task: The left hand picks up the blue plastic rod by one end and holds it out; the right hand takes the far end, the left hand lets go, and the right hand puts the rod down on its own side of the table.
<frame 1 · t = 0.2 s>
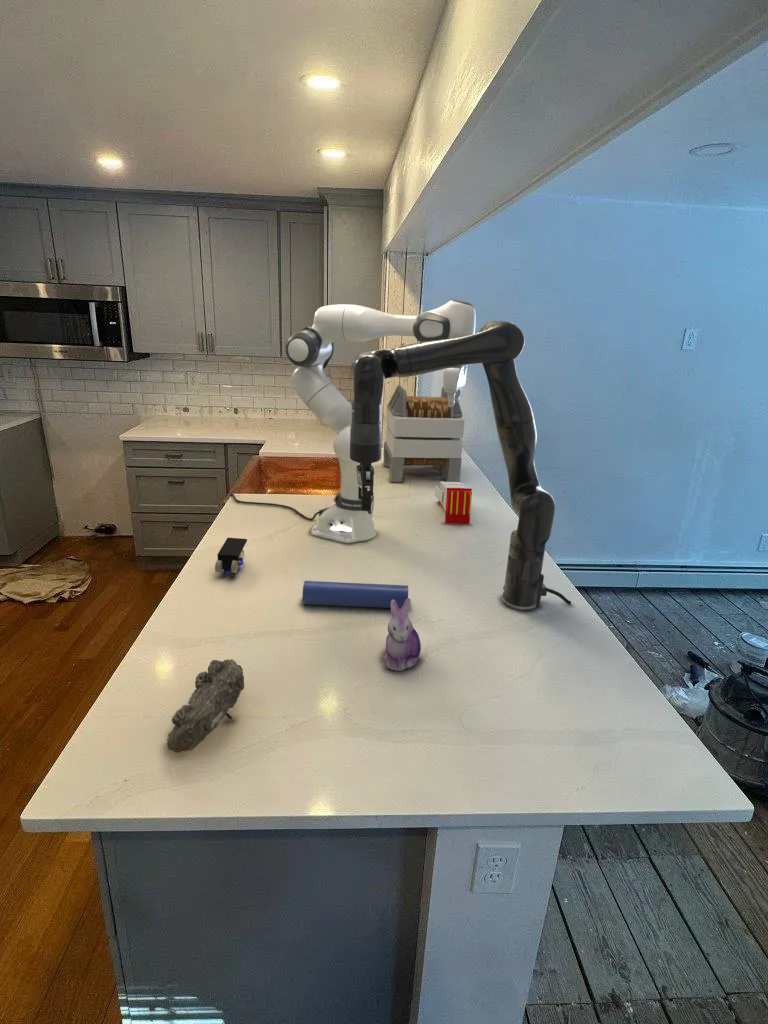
left hand: (453, 404, 174), 48 cm above the counter, tool pointing down, fingers open, 8 cm apart
right hand: (364, 504, 140), 29 cm above the counter, tool pointing down, fingers open, 8 cm apart
figurine: (401, 660, 128), on the counter
figurine character: (232, 569, 168), on the counter
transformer: (419, 473, 275), on the counter
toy: (451, 512, 224), on the counter
fossil: (212, 717, 108), on the counter
rod: (355, 604, 151), on the counter
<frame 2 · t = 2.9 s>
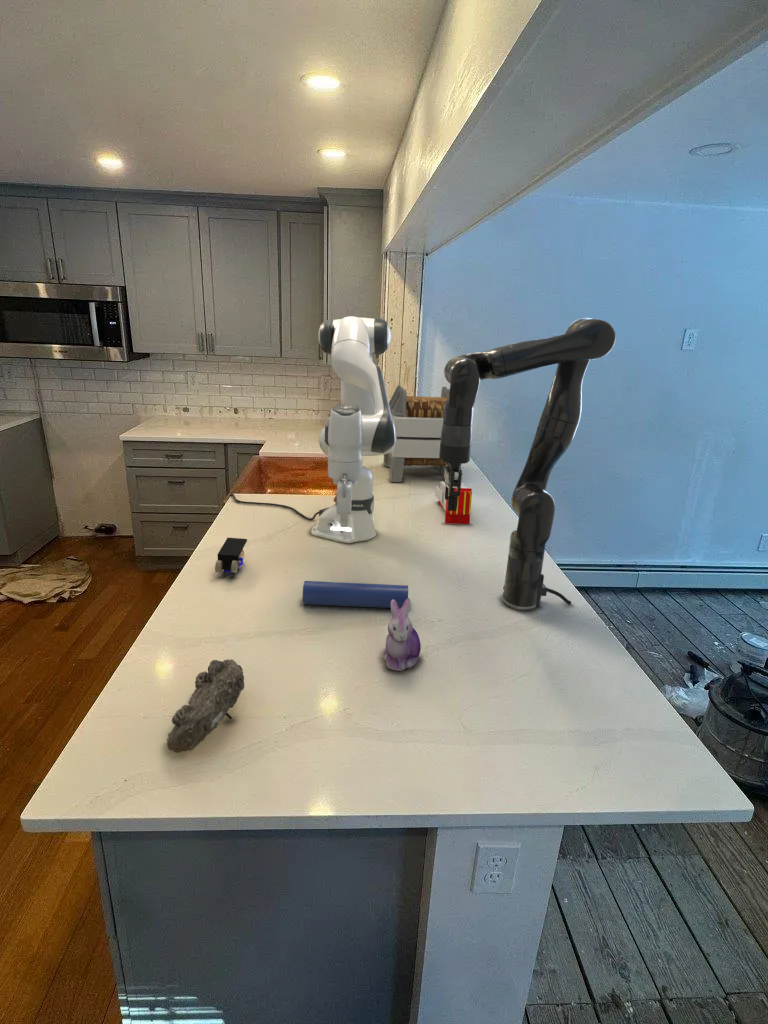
left hand: (344, 520, 150), 22 cm above the counter, tool pointing down, fingers open, 8 cm apart
right hand: (450, 504, 143), 29 cm above the counter, tool pointing down, fingers open, 8 cm apart
nothing on the counter moved.
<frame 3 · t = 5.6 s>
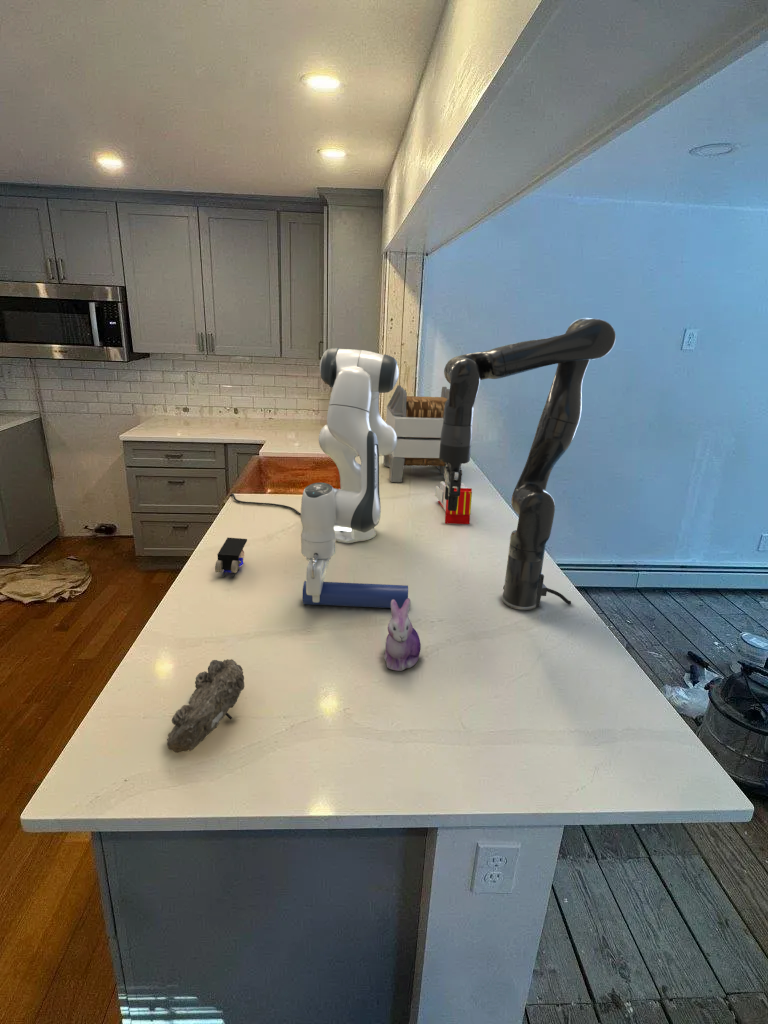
left hand: (318, 594, 150), 3 cm above the counter, tool pointing down, fingers closed on rod, 6 cm apart
right hand: (450, 504, 143), 29 cm above the counter, tool pointing down, fingers open, 8 cm apart
rod: (355, 604, 151), on the counter, touching left hand
everything else where it was.
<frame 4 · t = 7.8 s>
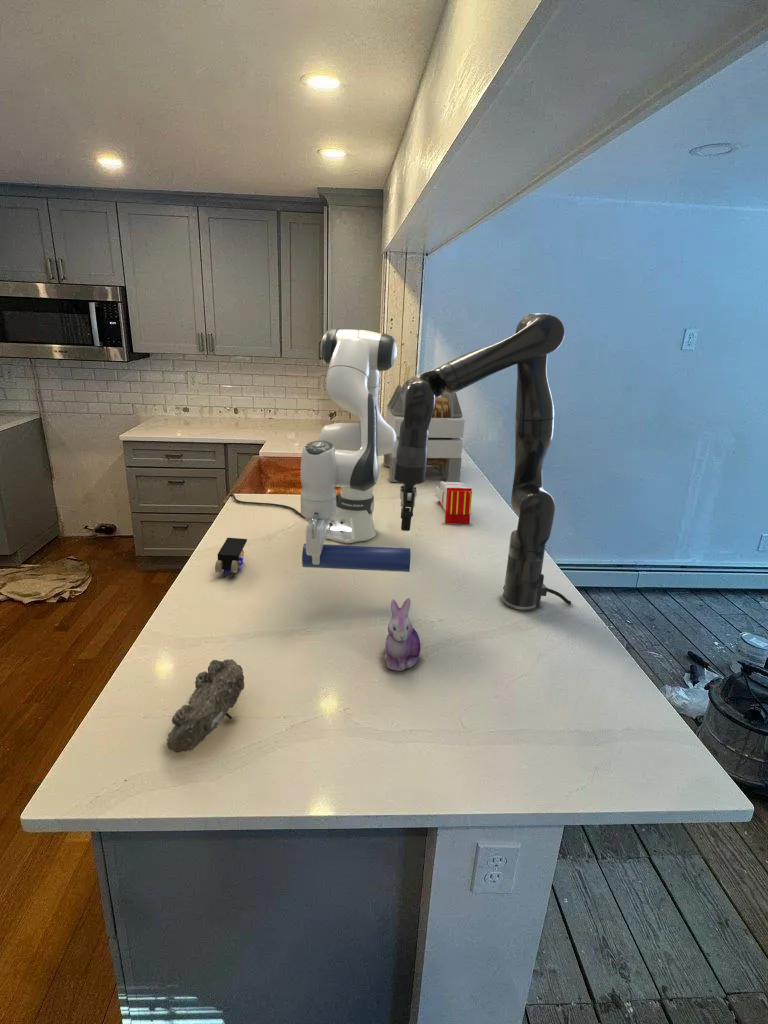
left hand: (318, 557, 147), 13 cm above the counter, tool pointing down, fingers closed on rod, 6 cm apart
right hand: (405, 524, 143), 24 cm above the counter, tool pointing down, fingers open, 8 cm apart
rod: (356, 568, 147), point 11 cm above the counter, touching left hand
everything else where it was.
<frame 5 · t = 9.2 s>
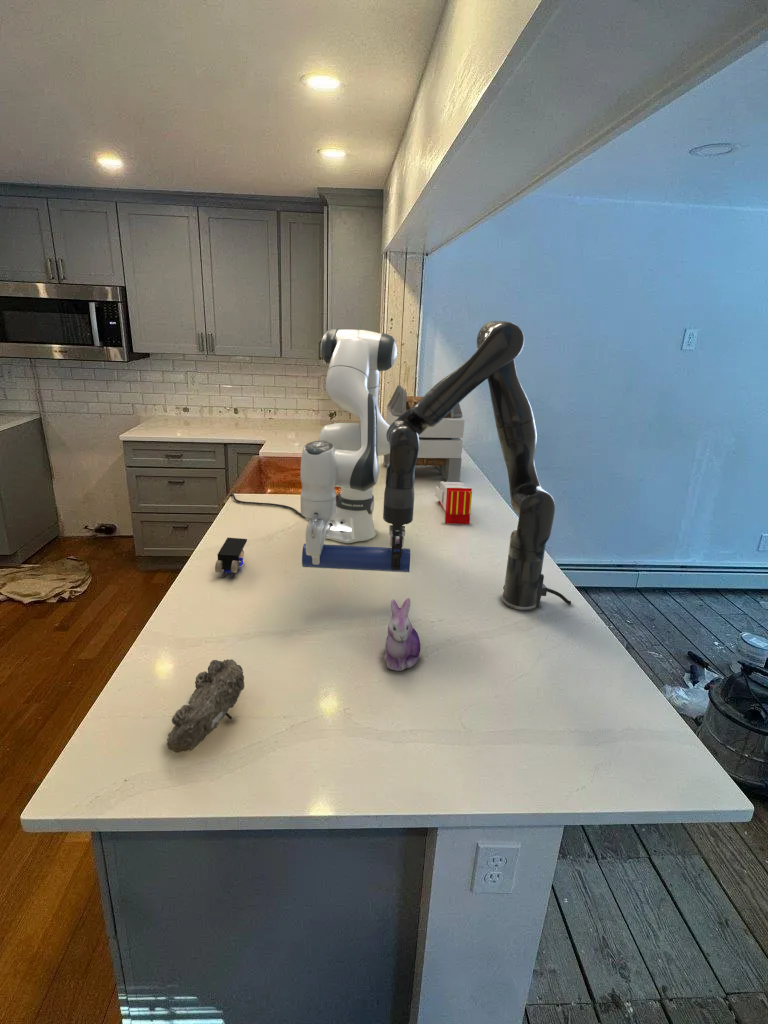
left hand: (318, 557, 147), 13 cm above the counter, tool pointing down, fingers closed on rod, 6 cm apart
right hand: (395, 563, 147), 13 cm above the counter, tool pointing down, fingers closed on rod, 6 cm apart
rod: (356, 568, 147), point 11 cm above the counter, touching left hand, right hand
everything else where it was.
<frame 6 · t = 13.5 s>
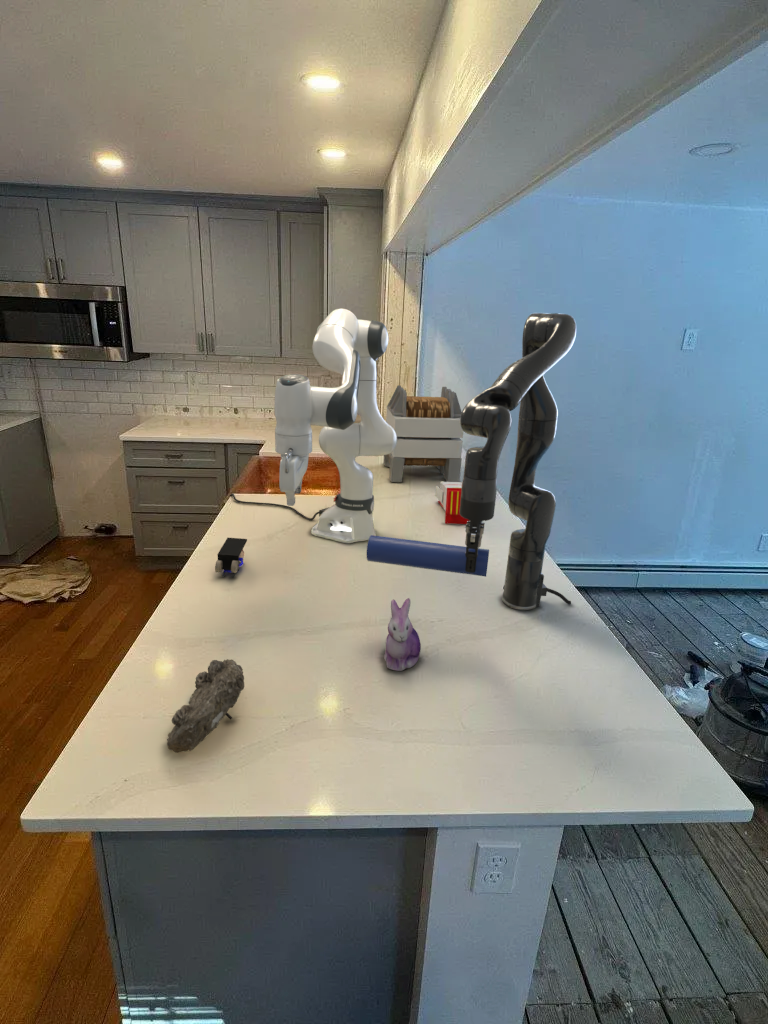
left hand: (294, 498, 141), 29 cm above the counter, tool pointing down, fingers open, 8 cm apart
right hand: (471, 565, 129), 21 cm above the counter, tool pointing down, fingers closed on rod, 6 cm apart
rod: (426, 567, 131), point 19 cm above the counter, touching right hand
everything else where it was.
when the right hand's fingers open (4 cm above the counter, at t = 17.7 s): rod drops 3 cm and tips over, point 1 cm above the counter.
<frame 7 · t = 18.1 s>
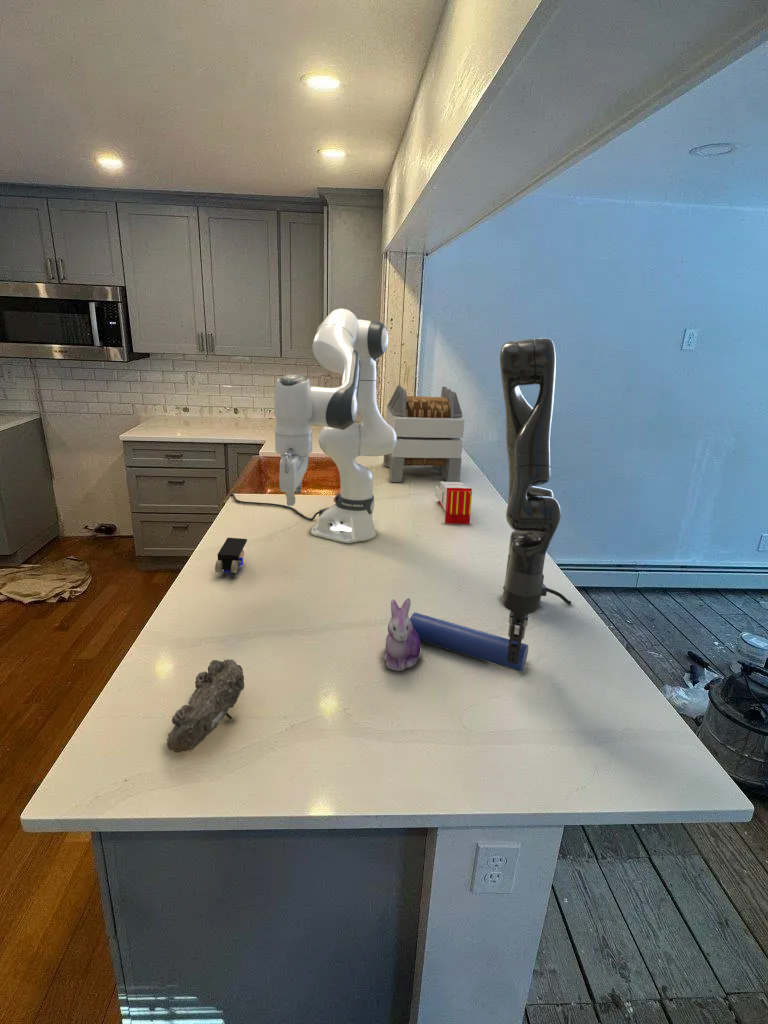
left hand: (294, 498, 141), 29 cm above the counter, tool pointing down, fingers open, 8 cm apart
right hand: (514, 651, 125), 4 cm above the counter, tool pointing down, fingers open, 8 cm apart
rod: (462, 653, 131), point 1 cm above the counter, tilted 36°
everything else where it was.
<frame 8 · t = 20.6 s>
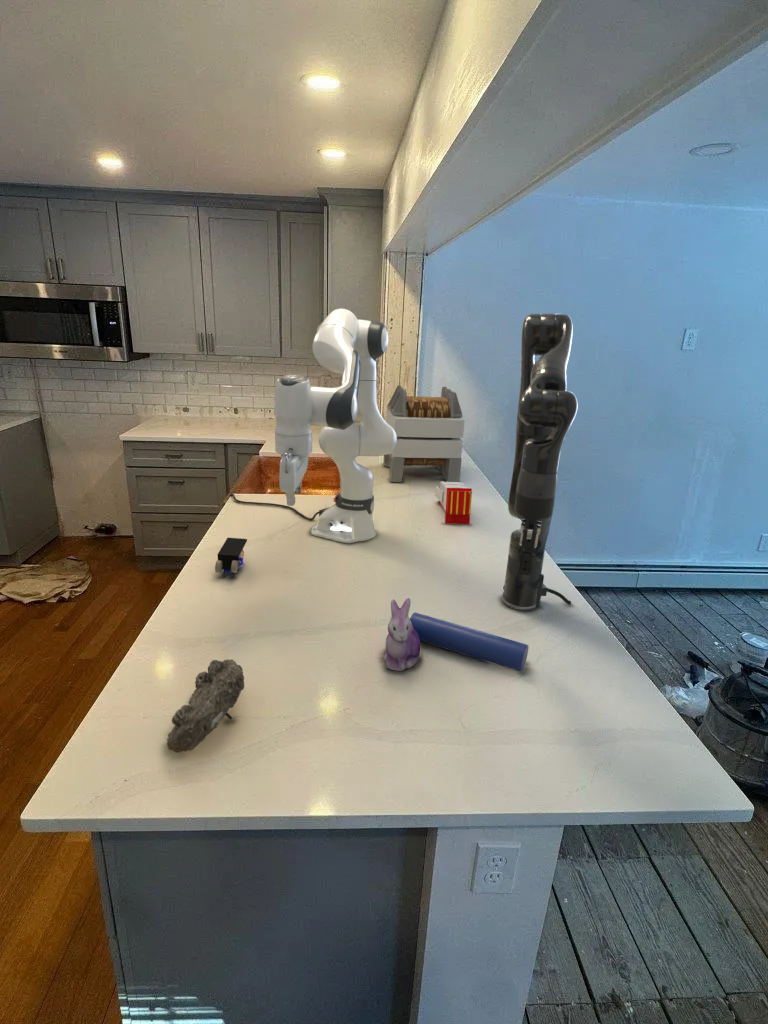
left hand: (294, 498, 141), 29 cm above the counter, tool pointing down, fingers open, 8 cm apart
right hand: (525, 565, 118), 26 cm above the counter, tool pointing down, fingers open, 8 cm apart
nothing on the counter moved.
at the end: rod inside the target area (11.2 cm from its centre), point 0.6 cm above the counter; the left hand is holding nothing; the right hand is holding nothing; rod at rest at the end (0.0 cm/s) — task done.
